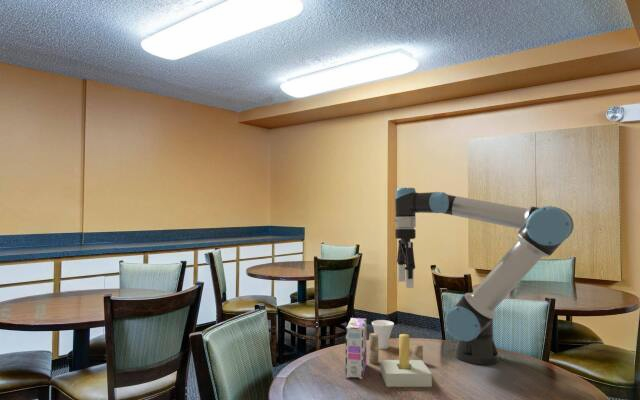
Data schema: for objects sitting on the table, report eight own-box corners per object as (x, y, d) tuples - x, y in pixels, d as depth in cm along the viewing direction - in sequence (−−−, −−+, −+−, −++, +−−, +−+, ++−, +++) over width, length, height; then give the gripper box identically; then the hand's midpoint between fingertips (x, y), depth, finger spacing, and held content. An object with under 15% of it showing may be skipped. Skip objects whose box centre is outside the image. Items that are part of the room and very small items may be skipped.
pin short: (421, 361, 151) (421, 344, 151) (423, 364, 148) (423, 347, 148) (412, 361, 151) (412, 344, 151) (414, 364, 148) (414, 347, 148)
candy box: (363, 379, 134) (363, 328, 134) (345, 378, 135) (345, 327, 135) (366, 364, 147) (366, 317, 148) (350, 363, 148) (350, 317, 149)
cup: (371, 350, 162) (371, 324, 163) (372, 343, 172) (372, 318, 172) (394, 351, 161) (394, 325, 161) (394, 344, 170) (393, 319, 170)
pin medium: (377, 360, 151) (377, 333, 151) (379, 364, 148) (379, 335, 148) (368, 360, 151) (368, 333, 151) (370, 364, 148) (370, 335, 148)
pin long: (408, 377, 136) (408, 334, 136) (410, 381, 133) (410, 336, 133) (398, 377, 136) (398, 333, 136) (400, 381, 133) (400, 336, 133)
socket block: (421, 372, 140) (421, 360, 141) (431, 386, 128) (431, 373, 129) (380, 371, 140) (380, 360, 140) (386, 386, 128) (386, 373, 128)
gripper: (389, 227, 170) (389, 279, 170) (402, 229, 146) (402, 290, 145) (407, 227, 171) (408, 279, 170) (423, 229, 146) (424, 290, 145)
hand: (405, 284), depth 157 cm, fingers open, 13 cm apart
